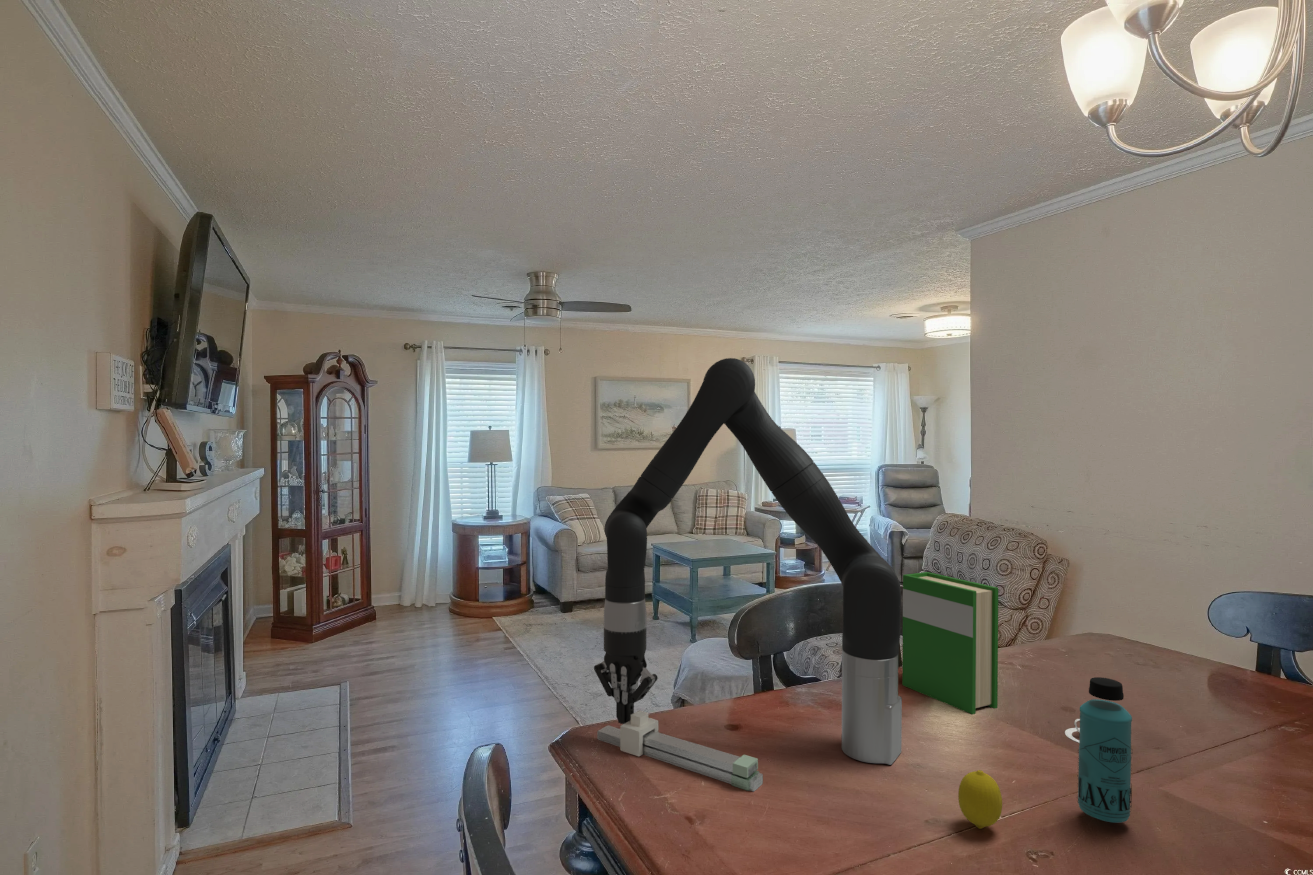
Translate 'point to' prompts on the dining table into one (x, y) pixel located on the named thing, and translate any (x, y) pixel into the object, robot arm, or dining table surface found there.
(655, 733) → the bar
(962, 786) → the lemon
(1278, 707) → the dining table surface
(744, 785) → the base
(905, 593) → the hardback book
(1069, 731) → the teacup and saucer
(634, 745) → the lock slider
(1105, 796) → the beverage bottle
